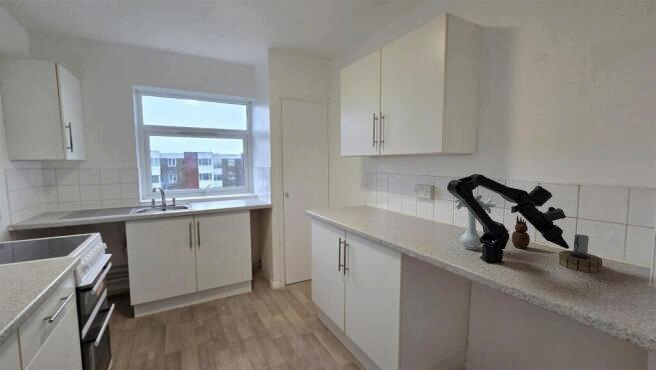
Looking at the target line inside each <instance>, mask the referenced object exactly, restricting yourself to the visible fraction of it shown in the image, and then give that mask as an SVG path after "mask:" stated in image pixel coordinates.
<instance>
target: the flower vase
mask: <svg viewBox="0 0 656 370" xmlns="http://www.w3.org/2000/svg"><path fill="white" fill-rule="evenodd" d="M473 196H474V194H473ZM474 198H475V199H476V200H477V202H478V203H479V204H480V205H481V206H482V208H483V209H484V210H485V211H486V213H487V214H488V215H489V214H492V209H491V208H495V207H496V203H493V202H492V199H493V197H489V198H488V199H487V201H486V200H481V199H482V198H483V196H482V195H477V196H476V197H475V196H474ZM454 202H455V205H456V206H454V210H455V209H457V210H460V209H461V208H463V207H464V208H466V209H467V213H468V214H467V215H468V220H467V228H466V231H465V232H464V233H463V234H462V235H460V238H459V241H460V243H461V244H462V246H463V248H464V249H467V250H472V251H474V250H479V247H481V246H482V245H483V244H482V243H480V240H479V238H480V237H481V236H480V234H479V233H478V232H477V227H476V224H477V223H476V220H477V219H476V218H475V217H474V215H473V214H472V213H471V212H470V211H469V209H468V208H467V207H466V206H465V205H464V203H463V202H462V201H460V200H459V199H456V200H455V201H454Z"/></svg>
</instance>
